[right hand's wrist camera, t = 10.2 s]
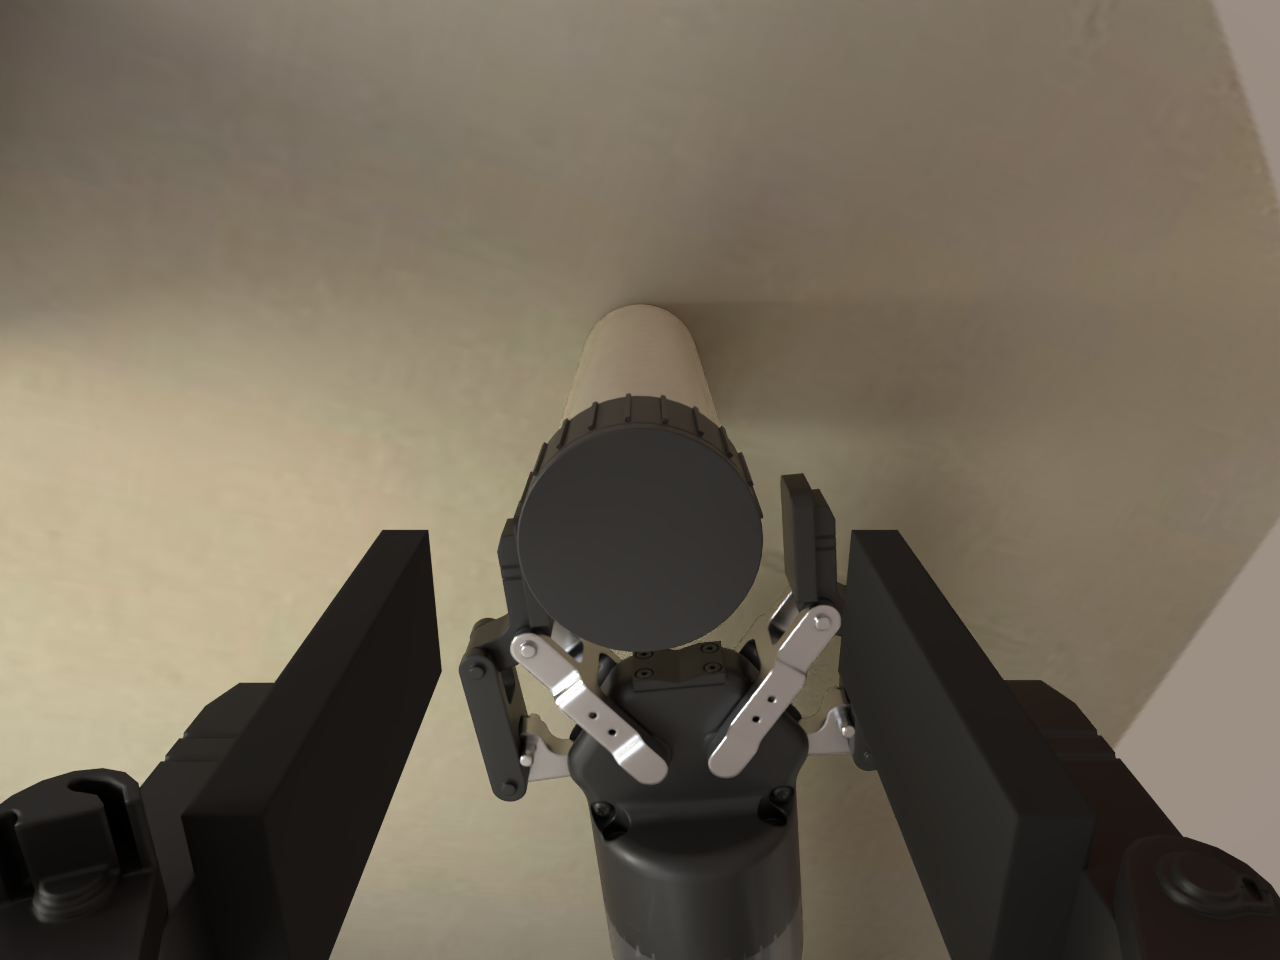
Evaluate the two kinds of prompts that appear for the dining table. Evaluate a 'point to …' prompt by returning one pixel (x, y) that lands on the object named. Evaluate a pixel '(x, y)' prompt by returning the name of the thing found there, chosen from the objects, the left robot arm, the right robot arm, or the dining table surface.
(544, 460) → the lid
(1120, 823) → the right robot arm
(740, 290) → the dining table surface
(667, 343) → the jar
